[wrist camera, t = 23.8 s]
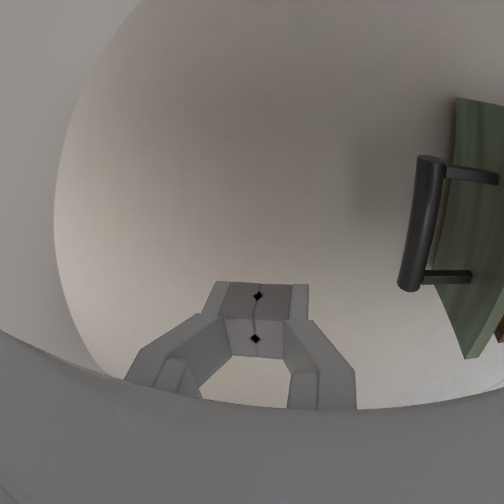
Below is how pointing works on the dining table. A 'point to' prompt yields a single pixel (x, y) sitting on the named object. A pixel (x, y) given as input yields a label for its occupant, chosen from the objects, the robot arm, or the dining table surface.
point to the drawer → (463, 228)
